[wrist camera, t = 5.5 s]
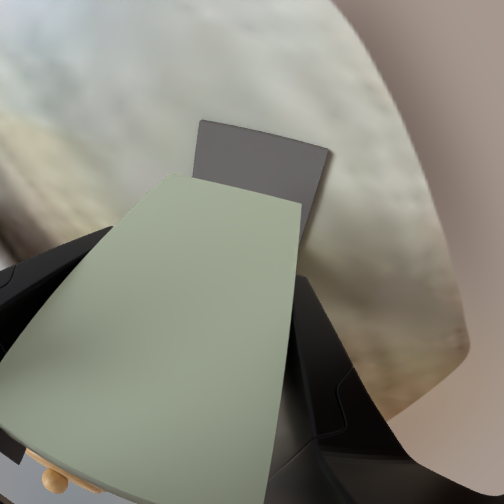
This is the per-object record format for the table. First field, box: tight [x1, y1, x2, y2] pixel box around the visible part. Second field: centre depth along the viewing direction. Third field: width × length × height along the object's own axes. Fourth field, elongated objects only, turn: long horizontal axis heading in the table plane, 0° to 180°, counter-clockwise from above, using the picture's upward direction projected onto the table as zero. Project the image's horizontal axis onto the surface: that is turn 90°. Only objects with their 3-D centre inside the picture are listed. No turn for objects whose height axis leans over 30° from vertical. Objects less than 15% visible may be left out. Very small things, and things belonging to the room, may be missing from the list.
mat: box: [192, 120, 328, 246], centre depth 23 cm, size 7×24×1 cm, turn 169°
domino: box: [0, 173, 302, 504], centre depth 8 cm, size 5×2×10 cm, turn 79°
